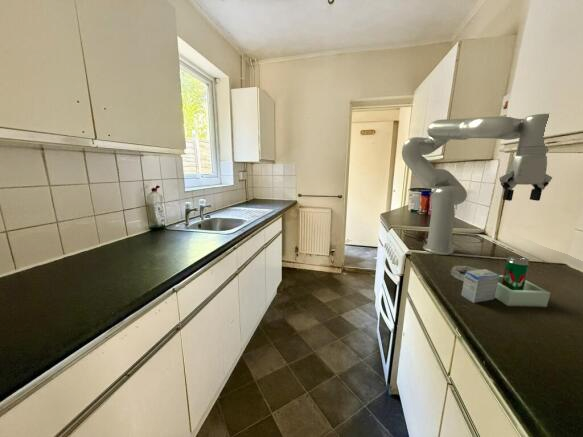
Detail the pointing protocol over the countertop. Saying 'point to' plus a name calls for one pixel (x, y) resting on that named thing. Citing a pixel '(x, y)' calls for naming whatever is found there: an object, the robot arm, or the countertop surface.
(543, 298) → the bin
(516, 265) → the soda can
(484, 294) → the medicine box
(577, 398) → the countertop surface
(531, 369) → the countertop surface
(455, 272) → the collar
